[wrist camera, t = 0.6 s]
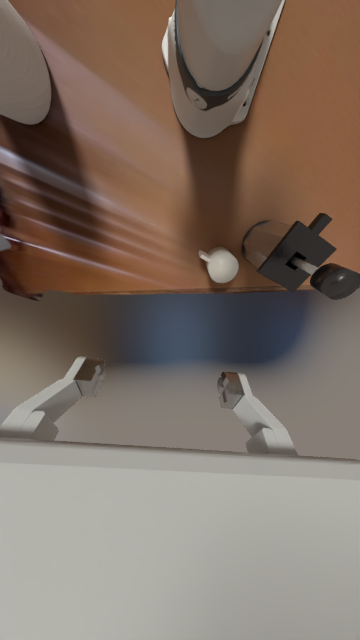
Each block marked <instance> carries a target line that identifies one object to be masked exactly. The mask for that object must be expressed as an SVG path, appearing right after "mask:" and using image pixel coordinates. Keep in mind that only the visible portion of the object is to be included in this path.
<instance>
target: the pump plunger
mask: <svg viewBox="0 0 360 640" xmlns="http://www.w3.org/2000/svg"><path fill="white" fill-rule="evenodd" d="M288 262H290V263H292V264H294V265H295V266H297V267H299V268H301V269H302V270H304V271H306V272H308V273H309V274H311V275H312V277H311V279H310V284H311V286H312V287H313V288H315V289H316V290H318V291H320V292H321V293H323V294H324V295H326V296H328V297H329V298H331V299H334V300H337V299H342V298H345V297H347V296H348V295H350V294H352V293H353V292H354V291H355V290H356V289H357V288H358V287H359V285H360V274H359V273H357V272H354V271H352V270H349V269H347V268H344V267H342V266H340V265H337V264H334V263H329V264H326V265H323V266H321V267H320V268H318V267H316V266H314V265H311V264H309V263H307V262H305V261H303V260H301V259H299V258H297V257H295V256H292V257H291V258H290V259H289V261H288Z"/></svg>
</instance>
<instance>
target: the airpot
mask: <svg viewBox="0 0 360 640" xmlns="http://www.w3.org/2000/svg"><path fill="white" fill-rule="evenodd" d="M331 220H332V218H330V217H329V216H328V215H327V214H324V213H319V215H318V216H317V217H316V218H315V219H314V220H313V222H312V223H311V224H310V225H309V226H308V227H306V226H305V225H304V224H302V223H301V222H300V221H296V222H295V223H294V224H293V225H287V224H283V223H278V222H274V221H262V222H260V223H257V224H256V225H254V226H253V227H252V228H251V229H250V230H249V231H248V232H247V234H246V235H245V237H244V239H243V243H242V253H243V255H244V257H245V258H246V259H247V260H248V261H249V262H251V263H252V264H253V265H254V266H255V267H256V268H258V270H257V272H258V273H260V274H262V275H264V276H265V277H267V278H269V279H271V280H272V281H274V282H276V283H278V284H279V285H281V286H283V287H285V288H286V289H288V290H290V291H292V292H294V291H295V290H296V289H297V288H298V287H299V286H300V285H301V284H302V283H303V282H304V281H305V280H306V279H307V278H308V277H309V276H310V275H311V274H309V273H308V272H306V271H304V270H302V269H301V268H299V267H297V266H295V265H294V264H292V263H290V262H288V261H289V259H290V258H291V257H292V256H295V257H297V258H299V259H301V260H303V261H305V262H307V263H309V264H311V265H314V266H316V267H319V266H320V265H321V264H322V263H323V262H324V261H325V260H326V259H327V258H328V257H329V256H330V255H331V254H332V253H333V252H334V251H335V250H336V248H335V247H333V246H332V245H331V244H329V243H328V242H327V241H325V240H324V239H323V238H321V237H320V236H319V233H320V232H321V231H322V230H323V229H324V228H325V227H326V226H327V225H328V224H329V222H330V221H331Z"/></svg>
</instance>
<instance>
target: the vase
mask: <svg viewBox="0 0 360 640" xmlns="http://www.w3.org/2000/svg"><path fill="white" fill-rule="evenodd" d="M50 103H51V83H50V78H49V73H48V69H47V65H46V62H45V60H44V57H43V54H42V52H41V50H40V47H39V45H38V43H37V41H36V39H35V38H34V36H33V34H32V32H31V31H30V29H29V28H28V26H27V25H26V23H25V22H24V20H23V19H22V18H21V16H20V15H19V14H18V13H17V11H16V10H15V9H14V8H13V6H12V5H11V4H10V3H9V1H8V0H0V114H1V115H3V116H6V117H8V118H10V119H12V120H15V121H17V122H20V123H24V124H31V125H33V124H37V123H39V122H41V121H42V120H43V119H44V118H45V117H46V115H47V114H48V111H49V108H50Z"/></svg>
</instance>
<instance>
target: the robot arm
mask: <svg viewBox="0 0 360 640" xmlns="http://www.w3.org/2000/svg"><path fill="white" fill-rule="evenodd" d="M284 2H285V0H175V9H174V12H173V15H172V17H170V18H169V22H168V28H167V30H166V33H165V35H164V38H163V41H162V56H163V60H164V63H165V66H166V68H167V71H168V74H169V79H170V88H171V97H172V102H173V106H174V109H175V112H176V115H177V117H178V119H179V121H180V122H181V124H182V125H183V127H184V128H185V129H186V130H187V131H188V132H189V133H191V134H192V135H194V136H196V137H199V138H209V137H212V136H215V135H217V134H218V133H220V132H221V131H222V130H224V129H225V128H226V127H228V126H229V125H234V124H238V123H241V122H242V121H243V120H244V119H245V117H246V115H247V113H248V110H249V107H250V104H251V101H252V98H253V95H254V92H255V89H256V86H257V83H258V80H259V77H260V74H261V71H262V68H263V65H264V62H265V59H266V56H267V53H268V50H269V47H270V44H271V41H272V38H273V35H274V32H275V29H276V26H277V23H278V20H279V17H280V14H281V11H282V8H283V5H284ZM267 34H268V36H267ZM244 102H245V103H246V105H245V107H244V106H243V104H244ZM104 363H105V362H104V359H96V358H88V357H78V358H77V359H76V361H75V362H74V364H73V365H72V367H71V368H70V370H69V371H68V373H67V374H66V376H65V377H64V379H60V380H58V381H57V382H55V383H53V384H52V385H51V386H49V387H47V388H46V389H44V390H43V391H41V392H40V393H38V394H36V395H35V396H33V397H32V398H30V399H29V400H27V401H25V402H24V403H22V404H21V405H19V406H18V407H16V408H15V409H14V410H13V411H12V412H11V414H10V415H9V416H8V417H7V419H6V420H5V421H4V422H3V424H2V425H1V426H0V640H360V460H356V459H346V458H329V457H313V456H298V454H297V452H296V450H295V448H294V445H293V443H292V441H291V439H290V437H289V434H288V432H287V430H286V428H285V427H284V426H283V425H282V424H281V423H280V422H279V421H278V420H277V419H276V418H275V417H274V416H273V415H272V414H271V413H270V412H269V411H268V410H267V409H266V407H264V405H262V403H261V402H260V401H259V400H258V399H257V398H256V397H253V395H252V392H251V389H250V387H249V384H248V381H247V378H246V376H245V374H241V373H231V372H222V374H221V377H220V378H219V380H218V384H217V388H218V392H219V393H220V394H221V395H220V397H219V399H220V404H221V408H231V409H233V410H234V412H235V413H236V415H237V416H238V418H239V419H240V421H241V422H242V423H243V425H244V426H245V428H246V429H247V431H248V432H249V434H250V435H251V437H252V438H251V439H249V440H248V441H247V442H246V447H247V451H248V452H231V451H214V450H199V449H182V448H166V447H150V446H149V447H148V446H133V445H117V444H99V443H84V442H67V441H54V439H55V437H56V435H57V434H58V428H57V427H56V426H55V425H54V422H55V421H56V420H57V419H58V418H59V417H60V416H62V415H63V414H64V413H65V412H66V411H67V410H68V409H69V408H70V407H71V406H73V405H74V404H75V403H76V402H77V401H78V400H79V399H80V398H81V397H82V396H89V397H96V396H97V393H98V391H99V389H100V384H99V383H101V382H102V381H103V379H104V377H105V373H106V367H105V366H104Z"/></svg>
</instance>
